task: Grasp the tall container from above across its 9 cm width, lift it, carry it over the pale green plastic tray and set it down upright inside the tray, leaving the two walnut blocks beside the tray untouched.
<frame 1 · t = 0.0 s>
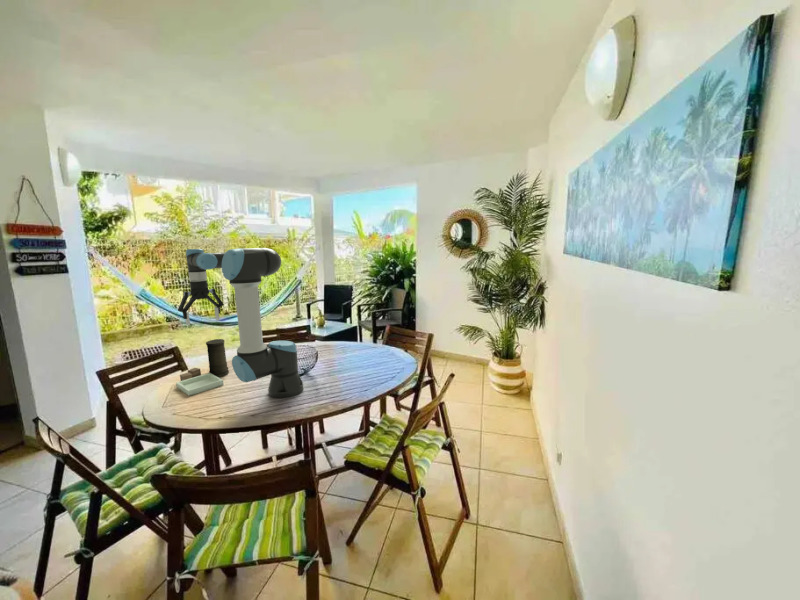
hand: (203, 322, 168), 28 cm above the table, fingers open, 13 cm apart
container: (219, 374, 174), on the table
walnut block b: (186, 382, 165), on the table
walnut block a: (194, 376, 171), on the table
tray: (200, 386, 160), on the table
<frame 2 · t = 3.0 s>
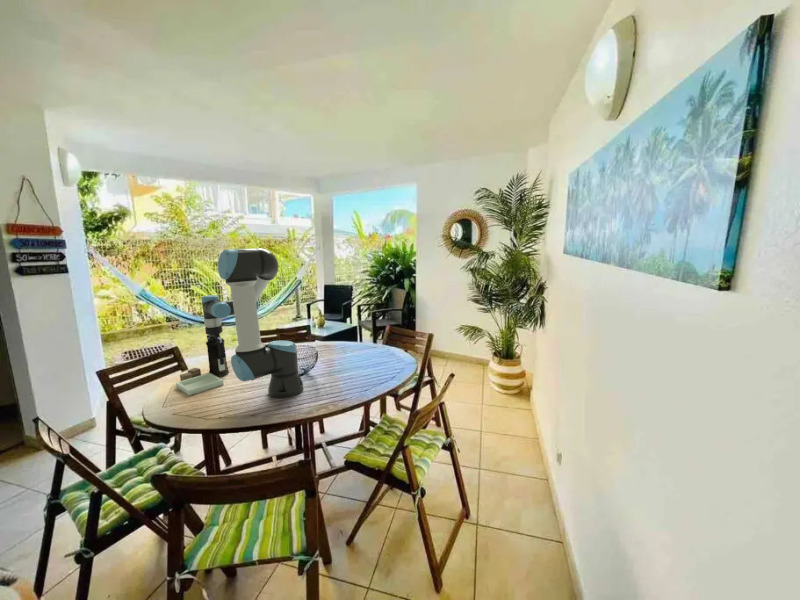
hand: (218, 368, 173), 3 cm above the table, fingers closed on container, 8 cm apart
container: (219, 374, 174), on the table, touching gripper
everything else where it was.
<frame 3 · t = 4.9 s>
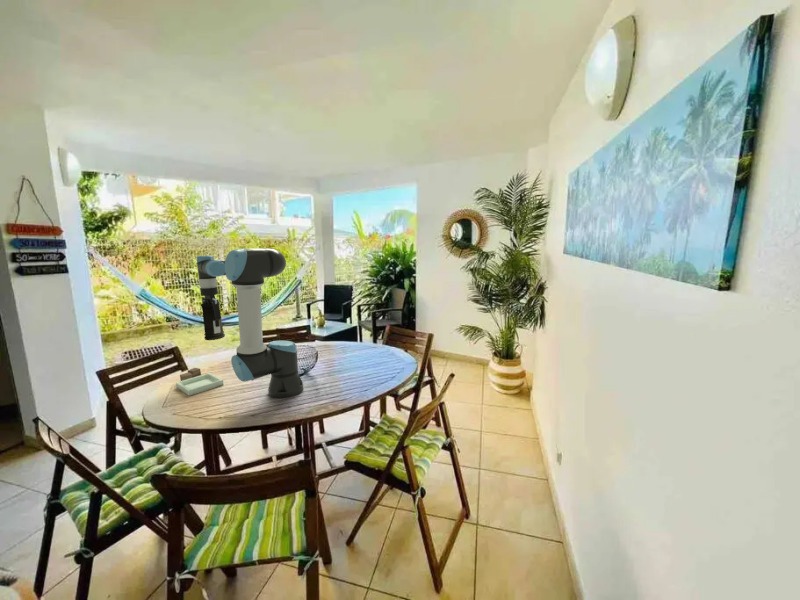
hand: (213, 331, 170), 23 cm above the table, fingers closed on container, 8 cm apart
container: (214, 338, 170), point 20 cm above the table, touching gripper
everything else where it was.
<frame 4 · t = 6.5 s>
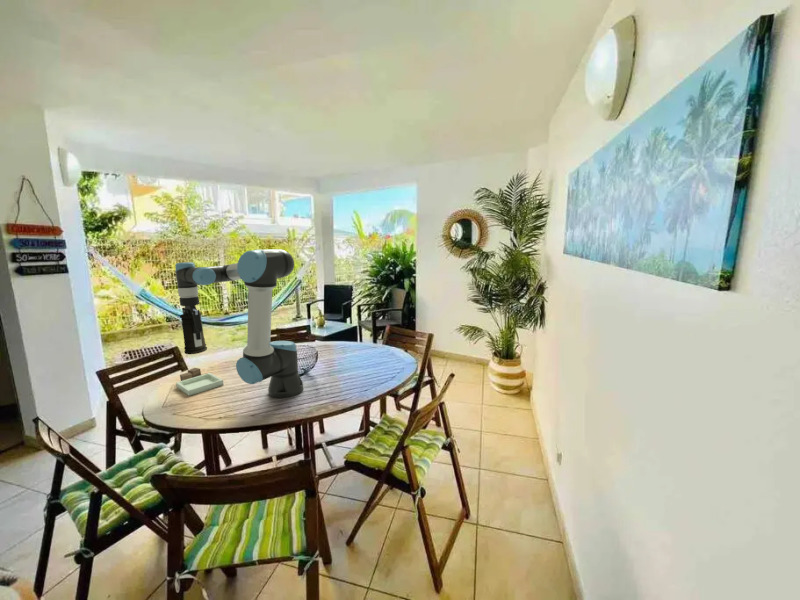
hand: (195, 344, 156), 21 cm above the table, fingers closed on container, 8 cm apart
container: (196, 351, 157), point 17 cm above the table, touching gripper
everything else where it was.
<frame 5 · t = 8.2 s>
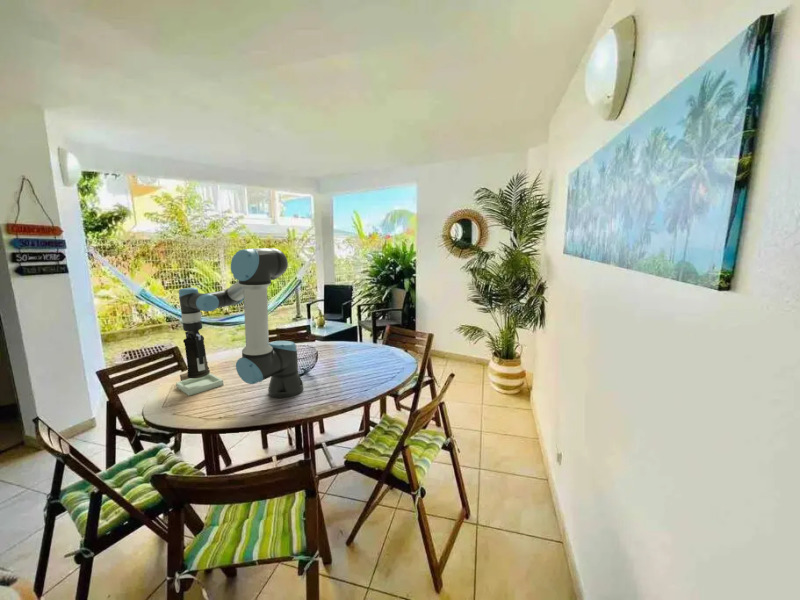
hand: (197, 368, 158), 9 cm above the table, fingers closed on container, 8 cm apart
container: (198, 375, 159), point 5 cm above the table, touching gripper
everything else where it was.
when the fingers open (5 cm above the table, at t = 9.9 s): container drops 1 cm, resting on tray.
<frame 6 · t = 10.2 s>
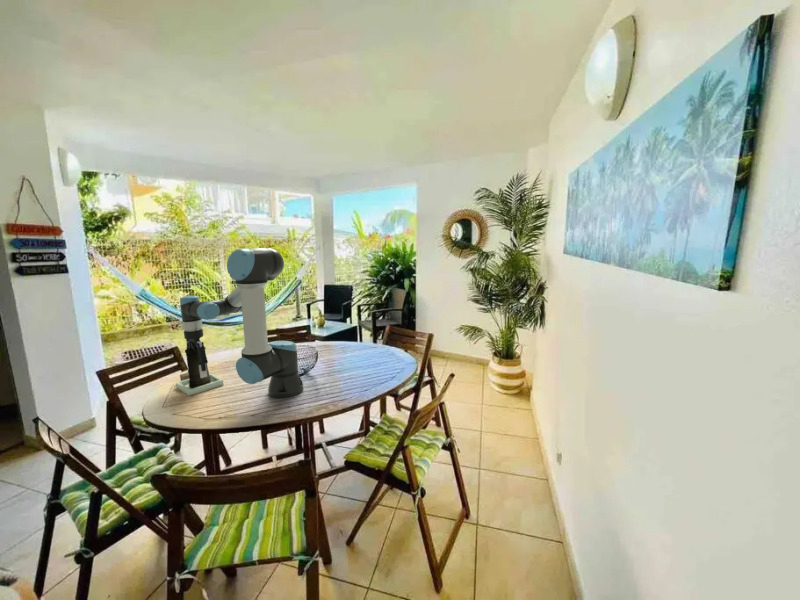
hand: (198, 374, 159), 6 cm above the table, fingers open, 11 cm apart
container: (200, 385, 160), resting on tray
everything else where it was.
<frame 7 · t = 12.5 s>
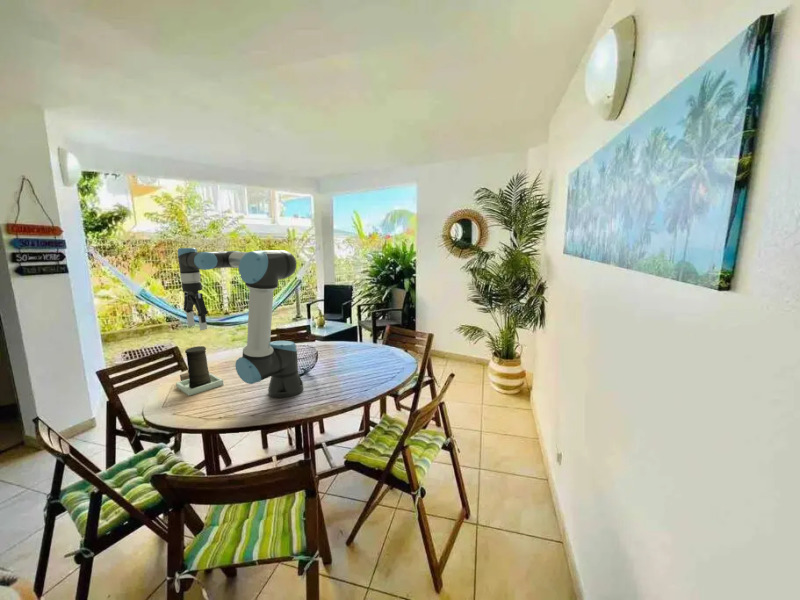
hand: (197, 327, 155), 29 cm above the table, fingers open, 13 cm apart
nothing on the table moved.
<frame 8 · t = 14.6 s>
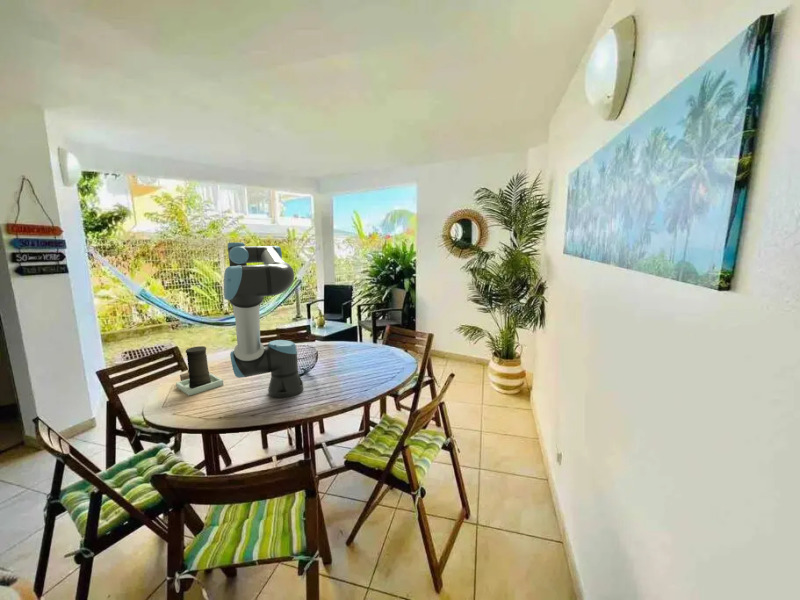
hand: (243, 317, 165), 31 cm above the table, fingers open, 13 cm apart
nothing on the table moved.
at the end: container inside the target area on the tray (0.1 cm from its centre), point 0.4 cm above the tray's base; container tilted 0°; the gripper is holding nothing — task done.
